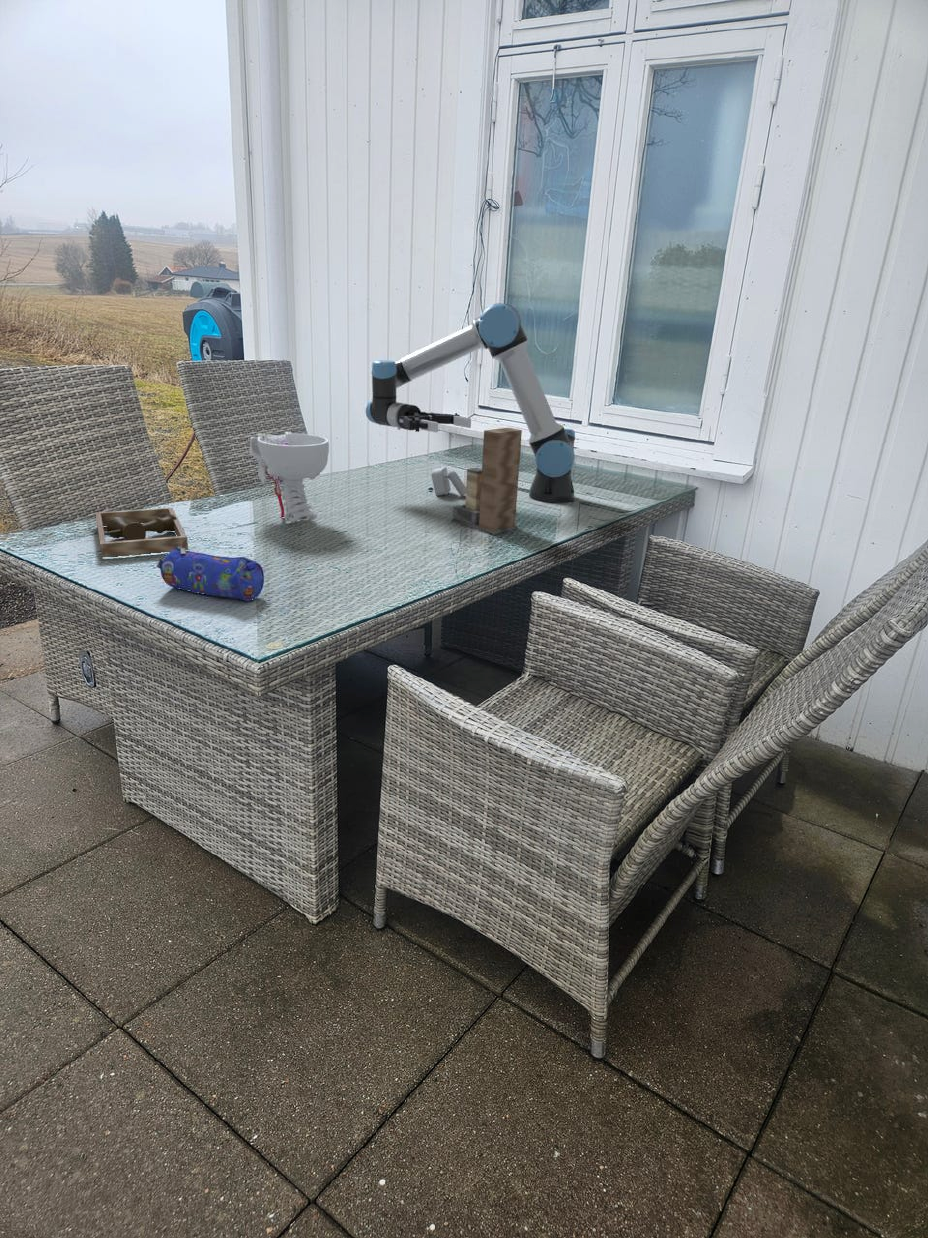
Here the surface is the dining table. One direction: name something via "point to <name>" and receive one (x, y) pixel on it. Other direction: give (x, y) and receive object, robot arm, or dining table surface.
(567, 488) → the robot arm
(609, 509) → the dining table surface
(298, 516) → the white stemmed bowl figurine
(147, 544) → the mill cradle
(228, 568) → the pencil case
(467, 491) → the beige wooden tall block
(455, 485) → the wall hook
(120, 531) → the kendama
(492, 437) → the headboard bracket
